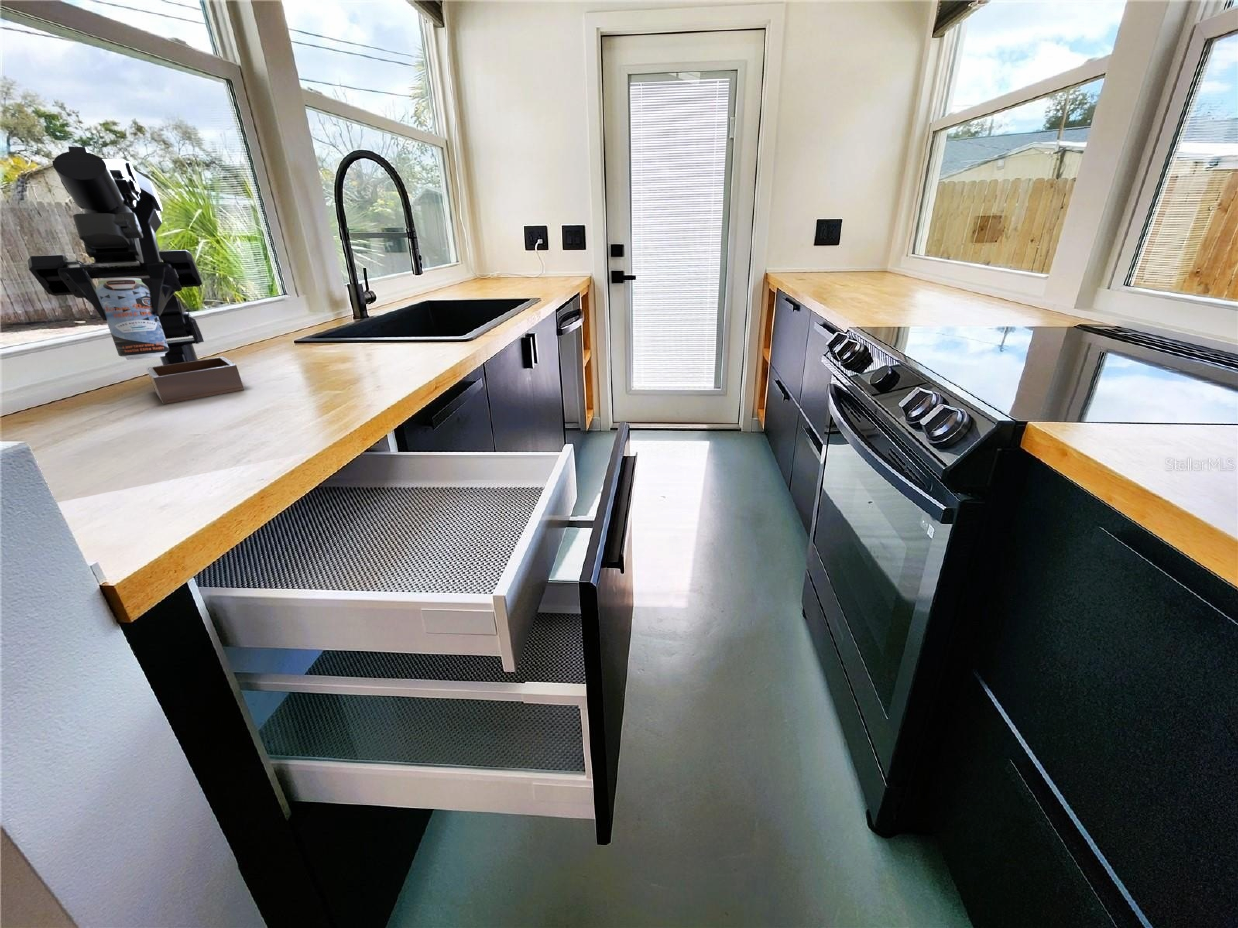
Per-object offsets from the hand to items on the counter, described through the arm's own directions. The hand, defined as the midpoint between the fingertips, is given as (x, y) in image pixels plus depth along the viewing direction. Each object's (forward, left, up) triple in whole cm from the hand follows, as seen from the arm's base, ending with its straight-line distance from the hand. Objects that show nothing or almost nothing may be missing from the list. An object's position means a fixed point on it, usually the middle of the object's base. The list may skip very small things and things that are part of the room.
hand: (130, 316), depth 79 cm
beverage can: (-1, 0, -7) cm, 7 cm away
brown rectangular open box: (-12, +3, -15) cm, 20 cm away
